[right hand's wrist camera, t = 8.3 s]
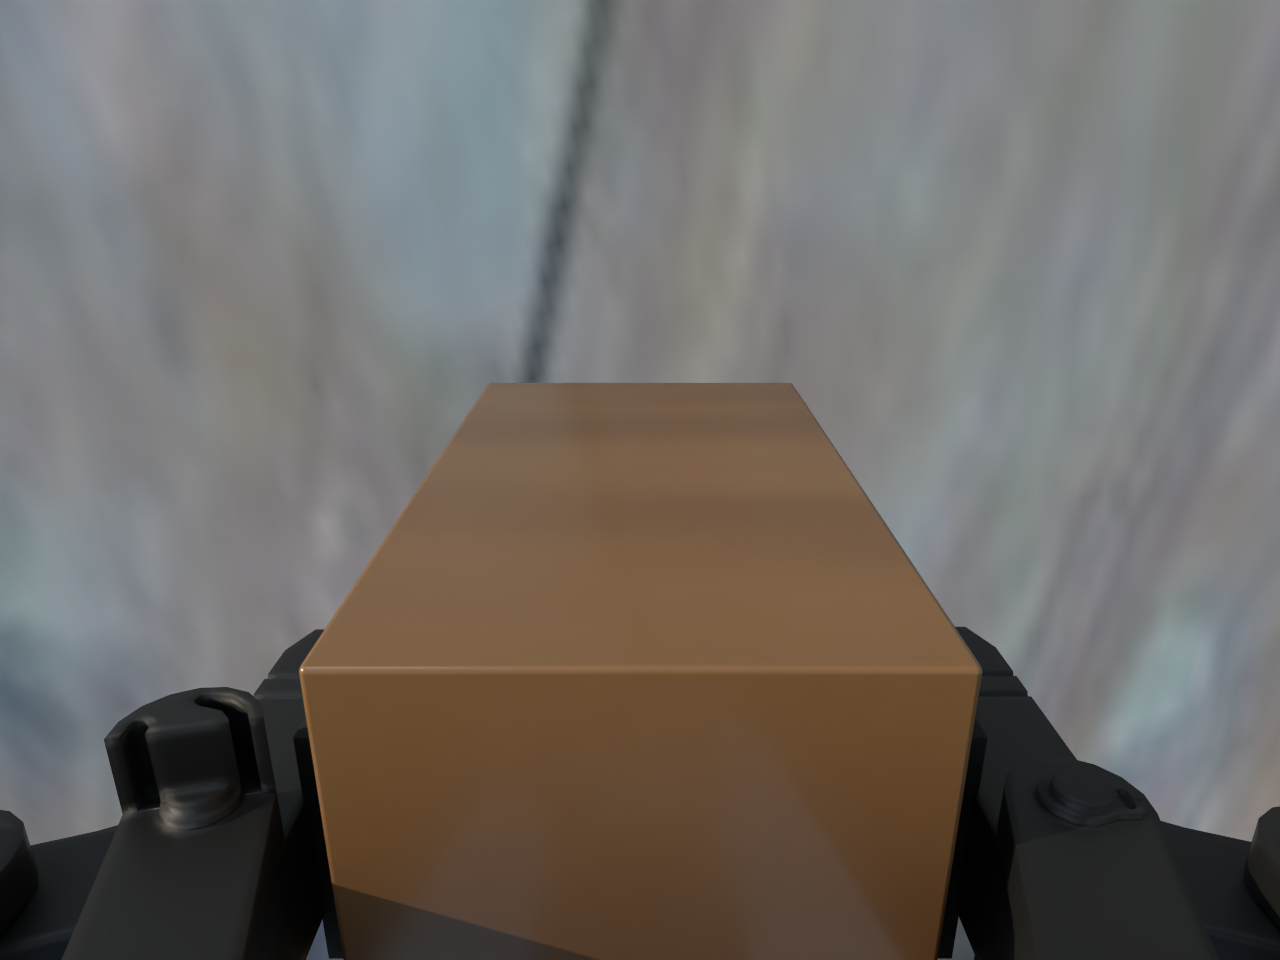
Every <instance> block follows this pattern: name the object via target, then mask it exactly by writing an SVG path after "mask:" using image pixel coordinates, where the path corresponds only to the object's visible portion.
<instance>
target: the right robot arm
mask: <svg viewBox="0 0 1280 960" xmlns="http://www.w3.org/2000/svg"><path fill="white" fill-rule="evenodd" d="M955 628H956V630H957V631H958V633H959V634H960V636H961V637H962V639H963V640H964V641H965V643H966V644H967V646H968V647H969V649H970V650H971V652H972V653H973V655H974V656H975V658H976V659H977V661H978V662H979V664H980V665H981V668H982V677H981V684H980V690H979V697H978V703H977V709H976V716H975V722H974V729H973V735H972V741H971V748H970V754H969V760H968V767H967V773H966V780H965V786H964V792H963V799H962V805H961V812H960V818H959V824H958V831H957V837H956V844H955V850H954V856H953V863H952V869H951V876H950V882H949V888H948V895H947V901H946V908H945V914H944V920H943V927H942V933H941V940H940V946H939V952H938V958H952V953H953V947H954V940H955V934H956V928H957V922H958V916H959V918H960V920H961V922H962V925H963V927H964V930H965V932H966V934H967V937H968V939H969V942H970V944H971V946H972V949H973V951H974V953H975V956H974V960H1280V807H1273V808H1271V809H1270V810H1269V811H1267V812H1266V813H1265V814H1264V815H1263V816H1261V817H1260V818H1259V820H1258V823H1257V826H1256V830H1255V833H1254V836H1253V839H1252V842H1248V841H1244V840H1239V839H1235V838H1230V837H1225V836H1221V835H1216V834H1211V833H1207V832H1202V831H1198V830H1193V829H1188V828H1184V827H1180V826H1177V825H1173V824H1170V823H1166V822H1163V821H1160V819H1159V816H1158V814H1157V812H1156V811H1155V809H1154V808H1153V807H1152V805H1151V804H1150V802H1149V801H1148V800H1147V798H1146V797H1145V795H1144V794H1143V793H1141V792H1140V791H1139V790H1137V789H1136V788H1135V787H1133V786H1132V785H1131V784H1130V783H1128V782H1127V781H1126V780H1124V779H1123V778H1122V777H1120V776H1118V775H1115V774H1113V773H1111V772H1109V771H1107V770H1105V769H1103V768H1100V767H1098V766H1096V765H1094V764H1090V763H1086V762H1082V761H1078V760H1077V759H1076V758H1075V757H1074V755H1073V754H1072V752H1071V751H1070V750H1069V748H1068V747H1067V746H1066V744H1065V743H1064V741H1063V740H1062V739H1061V737H1060V736H1059V734H1058V733H1057V732H1056V730H1055V729H1054V728H1053V726H1052V725H1051V723H1050V722H1049V721H1048V719H1047V718H1046V716H1045V715H1044V714H1043V712H1042V711H1041V710H1040V708H1039V707H1038V705H1037V704H1036V703H1035V701H1034V700H1033V698H1032V697H1028V695H1027V690H1026V689H1025V687H1024V686H1023V685H1022V683H1021V682H1020V680H1019V679H1018V678H1017V676H1013V671H1012V669H1011V668H1010V667H1009V665H1008V664H1007V662H1006V661H1005V660H1004V658H1003V657H1002V656H1001V654H1000V653H999V651H998V650H997V649H996V647H994V646H993V645H991V644H990V643H988V642H987V641H985V640H984V639H982V638H981V637H979V636H978V635H976V634H975V633H973V632H972V631H970V630H969V629H968V628H966V627H955ZM323 631H324V630H315V631H313V632H312V633H310V634H309V635H307V636H306V637H304V638H303V639H301V640H300V641H298V642H297V643H295V644H294V645H292V646H291V647H289V648H288V649H287V650H285V651H284V653H283V654H282V656H281V657H280V658H279V660H278V661H277V663H276V664H275V665H274V667H273V668H272V670H271V671H270V672H269V674H268V679H264V681H263V682H262V684H261V685H260V686H259V688H258V689H257V691H256V692H255V693H254V696H252V695H251V694H250V693H249V692H245V691H241V690H237V689H233V688H228V687H218V688H198V689H194V690H189V691H184V692H180V693H175V694H171V695H168V696H166V697H163V698H161V699H159V700H156V701H154V702H151V703H149V704H146V705H144V706H142V707H140V708H139V709H137V710H136V711H134V712H133V713H131V714H130V715H128V716H127V717H125V718H124V719H122V720H121V721H119V722H118V723H117V724H116V726H115V727H114V728H113V729H112V730H111V732H110V733H109V734H108V735H107V736H106V738H105V739H104V742H105V746H106V750H107V753H108V757H109V761H110V765H111V769H112V773H113V777H114V781H115V785H116V789H117V793H118V797H119V801H120V805H121V809H122V813H123V815H122V818H121V820H120V822H119V825H117V826H114V827H110V828H107V829H103V830H100V831H96V832H91V833H86V834H82V835H77V836H73V837H68V838H63V839H59V840H54V841H50V842H45V843H40V844H36V845H31V846H30V843H29V840H28V837H27V834H26V830H25V827H24V824H23V822H22V821H21V820H20V819H18V818H17V817H16V816H15V815H14V814H12V813H11V812H10V811H4V810H0V960H306V957H307V955H308V952H309V950H310V947H311V945H312V943H313V940H314V938H315V935H316V933H317V931H318V928H319V926H320V923H321V921H322V919H323V925H324V931H325V937H326V943H327V949H328V955H329V958H343V952H342V945H341V939H340V933H339V926H338V920H337V913H336V907H335V900H334V894H333V888H332V881H331V875H330V868H329V862H328V855H327V849H326V843H325V836H324V830H323V823H322V817H321V810H320V804H319V798H318V791H317V785H316V778H315V772H314V765H313V759H312V753H311V746H310V740H309V733H308V727H307V721H306V714H305V708H304V701H303V695H302V688H301V682H300V676H299V669H300V666H301V664H302V663H303V661H304V660H305V658H306V657H307V655H308V654H309V652H310V651H311V649H312V648H313V646H314V645H315V643H316V642H317V640H318V639H319V637H320V636H321V634H322V633H323Z"/></svg>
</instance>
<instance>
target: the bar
mask: <svg viewBox="0 0 1280 960" xmlns="http://www.w3.org/2000/svg"><path fill="white" fill-rule="evenodd" d="M299 676H300V682H301V688H302V695H303V701H304V708H305V714H306V721H307V727H308V733H309V740H310V746H311V753H312V759H313V765H314V772H315V778H316V785H317V791H318V798H319V804H320V810H321V817H322V823H323V830H324V836H325V843H326V849H327V855H328V862H329V868H330V875H331V881H332V888H333V894H334V900H335V907H336V913H337V920H338V926H339V933H340V939H341V945H342V952H343V958H344V960H937V959H938V952H939V946H940V940H941V933H942V927H943V920H944V914H945V908H946V901H947V895H948V888H949V882H950V876H951V869H952V863H953V856H954V850H955V844H956V837H957V831H958V824H959V818H960V812H961V805H962V799H963V792H964V786H965V780H966V773H967V767H968V760H969V754H970V748H971V741H972V735H973V729H974V722H975V716H976V709H977V703H978V697H979V690H980V684H981V677H982V668H981V665H980V664H979V662H978V661H977V659H976V658H975V656H974V655H973V653H972V652H971V650H970V649H969V647H968V646H967V644H966V643H965V641H964V640H963V639H962V637H961V636H960V634H959V633H958V631H957V630H956V628H955V627H954V625H953V624H952V622H951V621H950V619H949V618H948V616H947V615H946V613H945V612H944V610H943V609H942V607H941V606H940V604H939V603H938V601H937V600H936V598H935V597H934V595H933V594H932V592H931V591H930V589H929V588H928V586H927V585H926V583H925V582H924V580H923V579H922V577H921V576H920V574H919V573H918V571H917V570H916V568H915V567H914V565H913V564H912V562H911V561H910V559H909V558H908V556H907V555H906V553H905V552H904V550H903V549H902V547H901V546H900V544H899V543H898V541H897V540H896V538H895V537H894V535H893V534H892V532H891V531H890V529H889V528H888V526H887V525H886V523H885V522H884V520H883V519H882V517H881V516H880V514H879V513H878V511H877V510H876V508H875V507H874V505H873V504H872V502H871V501H870V499H869V498H868V496H867V495H866V493H865V492H864V490H863V489H862V487H861V486H860V484H859V483H858V481H857V480H856V478H855V477H854V475H853V474H852V472H851V471H850V469H849V468H848V466H847V465H846V463H845V462H844V461H843V459H842V458H841V456H840V455H839V453H838V452H837V450H836V449H835V447H834V446H833V444H832V443H831V441H830V440H829V438H828V437H827V435H826V434H825V432H824V431H823V429H822V428H821V426H820V425H819V423H818V422H817V420H816V419H815V417H814V416H813V414H812V413H811V411H810V410H809V408H808V407H807V405H806V404H805V402H804V401H803V399H802V398H801V396H800V395H799V393H798V392H797V390H796V389H795V387H794V386H793V384H791V383H490V384H488V385H487V386H486V388H485V389H484V391H483V392H482V394H481V395H480V397H479V398H478V400H477V401H476V403H475V404H474V406H473V407H472V409H471V410H470V412H469V413H468V415H467V416H466V418H465V419H464V421H463V422H462V424H461V425H460V427H459V428H458V430H457V431H456V433H455V434H454V436H453V437H452V439H451V440H450V442H449V443H448V445H447V446H446V448H445V449H444V451H443V452H442V454H441V455H440V457H439V458H438V460H437V461H436V463H435V464H434V466H433V467H432V469H431V470H430V472H429V473H428V475H427V476H426V478H425V479H424V481H423V482H422V484H421V485H420V487H419V489H418V490H417V492H416V493H415V495H414V496H413V498H412V499H411V501H410V502H409V504H408V505H407V507H406V508H405V510H404V511H403V513H402V514H401V516H400V517H399V519H398V520H397V522H396V523H395V525H394V526H393V528H392V529H391V531H390V532H389V534H388V535H387V537H386V538H385V540H384V541H383V543H382V544H381V546H380V547H379V549H378V550H377V552H376V553H375V555H374V556H373V558H372V559H371V561H370V562H369V564H368V565H367V567H366V568H365V570H364V571H363V573H362V574H361V576H360V577H359V579H358V580H357V582H356V583H355V585H354V586H353V588H352V589H351V591H350V592H349V594H348V595H347V597H346V598H345V600H344V601H343V603H342V604H341V606H340V607H339V609H338V610H337V612H336V613H335V615H334V616H333V618H332V619H331V621H330V622H329V624H328V625H327V627H326V628H325V630H324V631H323V633H322V634H321V636H320V637H319V639H318V640H317V642H316V643H315V645H314V646H313V648H312V649H311V651H310V652H309V654H308V655H307V657H306V658H305V660H304V661H303V663H302V664H301V666H300V669H299Z"/></svg>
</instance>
